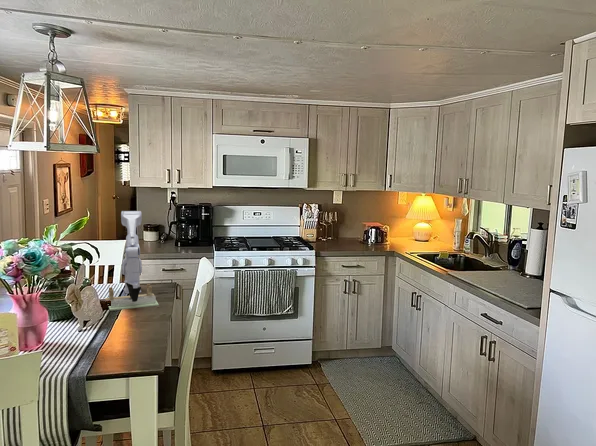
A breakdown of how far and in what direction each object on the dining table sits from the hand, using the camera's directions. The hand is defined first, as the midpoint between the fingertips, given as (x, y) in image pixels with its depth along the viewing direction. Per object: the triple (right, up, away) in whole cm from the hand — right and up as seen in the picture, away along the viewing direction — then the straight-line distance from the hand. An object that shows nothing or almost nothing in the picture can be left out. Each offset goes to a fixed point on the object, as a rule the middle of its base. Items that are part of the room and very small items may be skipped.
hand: (133, 299), depth 229 cm
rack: (-5, -2, +9) cm, 10 cm away
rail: (0, -3, 0) cm, 3 cm away
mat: (0, -3, 0) cm, 3 cm away
